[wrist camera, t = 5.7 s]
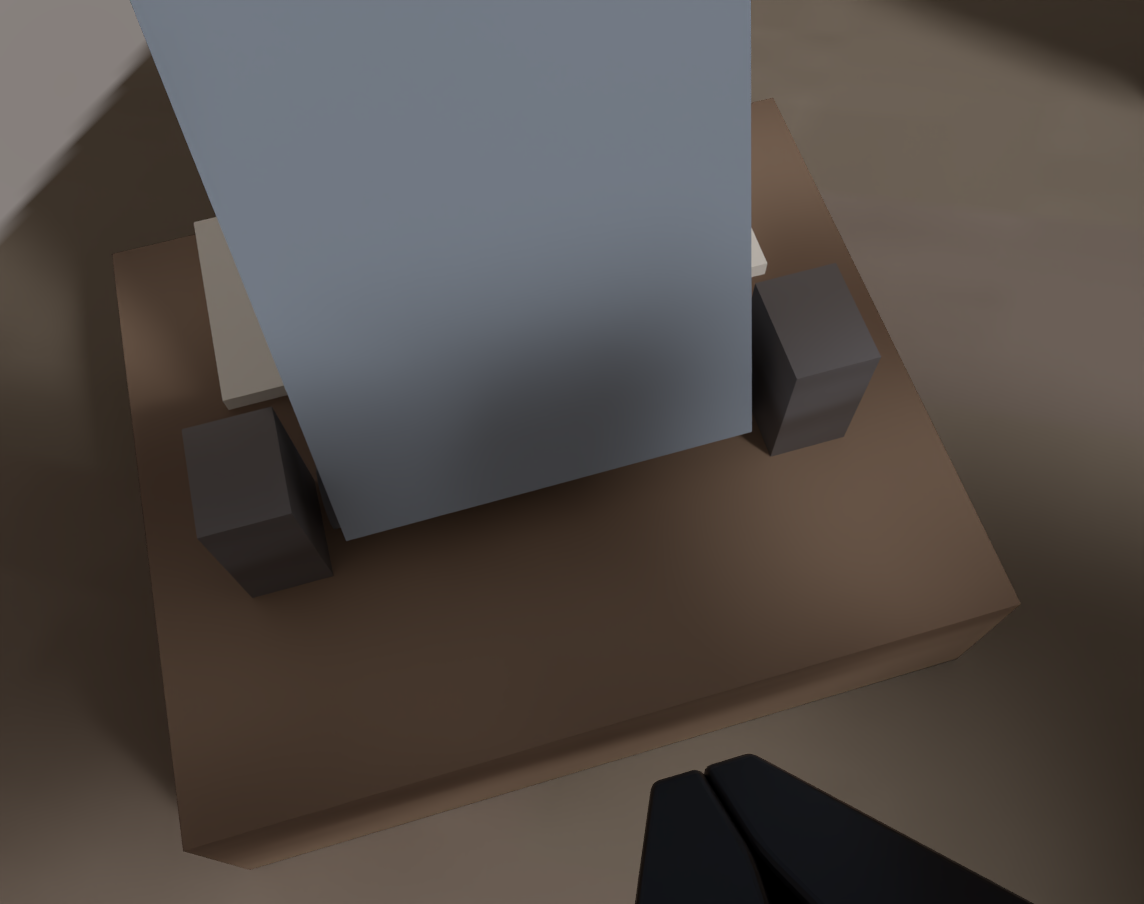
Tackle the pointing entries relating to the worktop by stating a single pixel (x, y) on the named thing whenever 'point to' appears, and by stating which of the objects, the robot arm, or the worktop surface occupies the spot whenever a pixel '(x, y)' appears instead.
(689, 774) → the robot arm
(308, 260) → the block
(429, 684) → the switch base
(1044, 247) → the worktop surface
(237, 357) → the switch plate
